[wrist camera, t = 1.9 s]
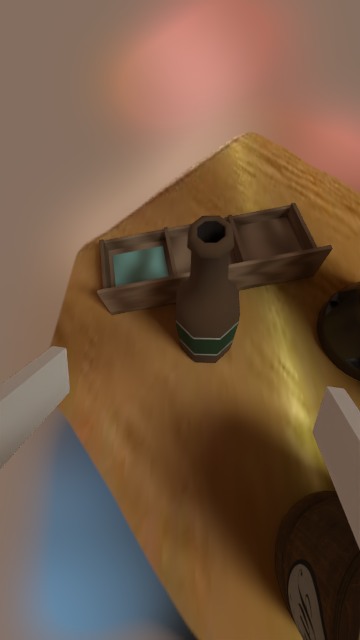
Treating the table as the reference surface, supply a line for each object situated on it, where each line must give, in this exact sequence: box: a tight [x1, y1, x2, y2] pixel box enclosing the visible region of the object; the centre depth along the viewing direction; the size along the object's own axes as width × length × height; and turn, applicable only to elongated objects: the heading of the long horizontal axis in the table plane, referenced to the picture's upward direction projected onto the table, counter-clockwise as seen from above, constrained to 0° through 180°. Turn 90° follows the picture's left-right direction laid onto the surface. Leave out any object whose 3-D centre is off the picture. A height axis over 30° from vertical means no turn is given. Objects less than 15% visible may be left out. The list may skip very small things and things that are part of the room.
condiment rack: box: [97, 203, 332, 315], centre depth 45 cm, size 34×13×7 cm, turn 100°
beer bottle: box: [176, 216, 240, 363], centre depth 31 cm, size 8×8×24 cm
